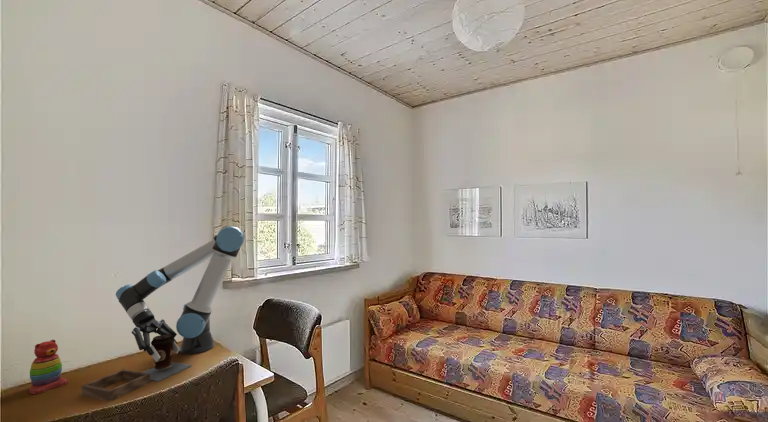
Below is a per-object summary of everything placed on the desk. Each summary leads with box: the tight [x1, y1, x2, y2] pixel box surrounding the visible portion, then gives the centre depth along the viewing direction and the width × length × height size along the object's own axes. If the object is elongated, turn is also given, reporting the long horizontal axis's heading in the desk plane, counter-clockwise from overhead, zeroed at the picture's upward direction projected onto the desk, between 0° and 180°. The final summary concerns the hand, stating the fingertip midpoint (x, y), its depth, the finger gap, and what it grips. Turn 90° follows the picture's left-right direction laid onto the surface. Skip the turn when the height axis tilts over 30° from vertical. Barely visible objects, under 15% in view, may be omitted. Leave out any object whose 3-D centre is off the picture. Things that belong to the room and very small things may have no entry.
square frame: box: [80, 369, 151, 402], centre depth 139 cm, size 15×15×4 cm
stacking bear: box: [29, 339, 69, 395], centre depth 143 cm, size 11×10×18 cm
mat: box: [142, 361, 192, 383], centre depth 154 cm, size 16×14×1 cm
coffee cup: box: [150, 334, 176, 369], centre depth 154 cm, size 9×8×13 cm
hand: (168, 355), depth 153 cm, fingers closed on coffee cup, 9 cm apart
